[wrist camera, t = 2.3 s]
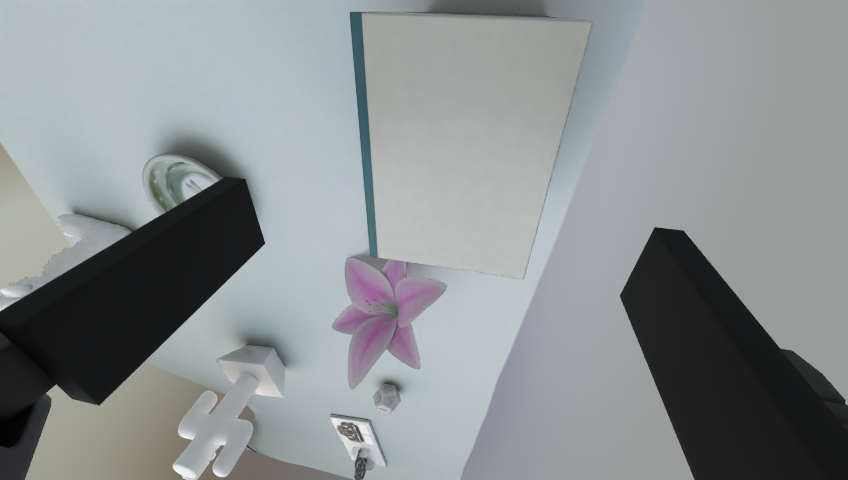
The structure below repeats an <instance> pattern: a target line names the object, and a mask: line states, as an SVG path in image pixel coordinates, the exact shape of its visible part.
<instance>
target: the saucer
mask: <svg viewBox="0 0 848 480" xmlns="http://www.w3.org/2000/svg"><path fill="white" fill-rule="evenodd" d="M142 179H143V186H144V189H145V192H146V195H147V197H148V199H149V201H150V203H151V204H152V206H153V207H154V209H155V210H156V211H157V213H158V214H159V215H162V214H164V213H165V212H167V211H169V210H170V209H172V208H174V207H176V206H177V205H179V204H181V203H182V202H184V201H186V200H187V199H189V198H191V197H192V196H194V195H196V194H197V193H199V192H201V191H202V190H204V189H206V188H207V187H209V186H211V185H212V184H214V183H216V182H217V181H219V180H221V179H222V177H220V176H219V175H218V174H217V173H216V172H214V171H213V170H211V169H210V168H208V167H207V166H205V165H203V164H202V163H200V162H198V161H196V160H194V159H192V158H189V157H186V156H183V155H178V154H161V155H157V156H155V157H153V158H151V159H150V160H149V161H148V162H147V163H146V165H145V167H144V169H143V178H142Z"/></svg>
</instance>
